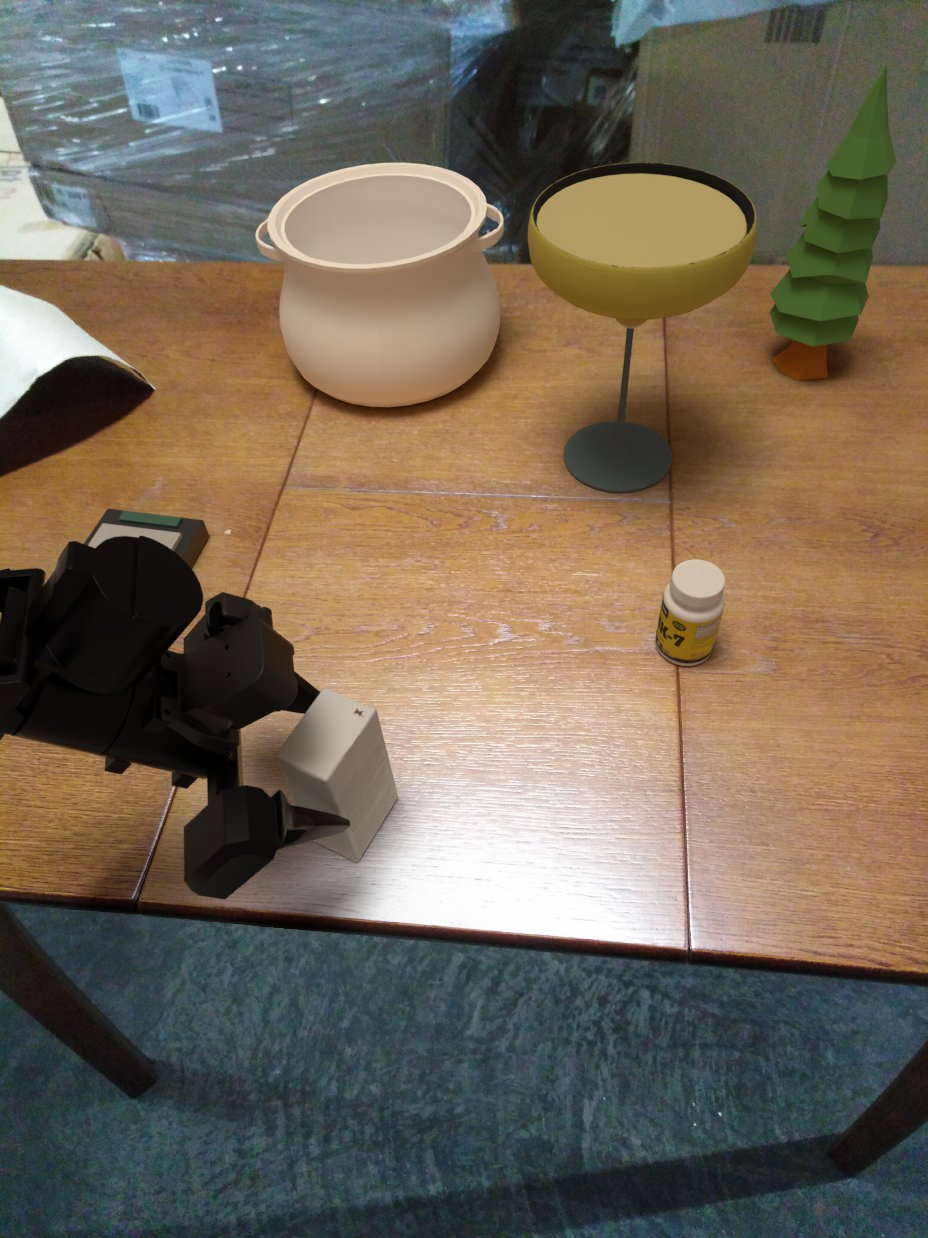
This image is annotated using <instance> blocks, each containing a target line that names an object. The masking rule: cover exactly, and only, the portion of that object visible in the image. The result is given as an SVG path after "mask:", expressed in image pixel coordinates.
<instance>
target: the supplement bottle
mask: <svg viewBox="0 0 928 1238" xmlns="http://www.w3.org/2000/svg"><path fill="white" fill-rule="evenodd" d="M725 585H726V577H725V575H724V572H723V571H722V570H721V568H719V566H717V565H716V564H715V563H712V562H711V561H707V560H703V559H699V558H698V559H696V558H694V559H688V560H684V561H682V562H680V563H679V564H677V565H676V566H675V567H674V569H673V571H672V573H671V577H670V579H669V582H668V583H667V585H666V586H665V588H664V590H663V594H662V599H661V605H660V610H659V615H658V621H657V626H656V631H655V640H654V641H655V642H654V643H655V647H656V649H657V651H658V653H659V654H660V655H661V656H662V657H663V658H664V659H665V660H666V661H668V662H670V663H671V664H674V665H677V666H681V667H693V666H697V665H700V664H702V663H704V662H705V661H706V660H707V659H709V657H710V656H711V654H712V653H713V650H714V647H715V643H716V639H717V636H718V632H719V629H720V624H721V621H722V617H723V614H724V610H725V605H726V604H725V603H726V597H725V593H724V591H725V590H724V589H725Z"/></svg>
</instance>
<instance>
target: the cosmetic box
mask: <svg viewBox="0 0 928 1238" xmlns="http://www.w3.org/2000/svg"><path fill="white" fill-rule="evenodd" d="M274 760H275V762H276V765H277V767H278V768H279V771H280V774H281V775H282V778H283V780H284V782H285V784H286V787H287V789H288V791H289V793H290V795H291V798H292V801H293V802H294V805H295V806H300V807H304V808H309V809H314V810H318V811H323V812H327V813H332V814H336V815H338V816H341V817H344V818H346V819H349V820H350V827H349V828H348V829H346V830H345V831H344V832H342V833H339V834H336V835H332V836H328V837H324V838H321V839H317V840H313V841H312V842H314V843H316V844H318V845H321V846H323V847H325V848H326V849H328V850H331V851H333V852H335V853H337V854H338V855H340V856H343V857H345V858H347V859H349V860H350V861H352V862H355V863H359V861H360V859H361V858H362V856H363V854H364V853H365V852H366V850H367V849H368V847H369V845H370V843H371V842H372V840H373V839H374V837H375V835H376V833H377V832H378V831H379V829H380V827H381V826H382V824H383V822H384V821H385V819H386V817H387V816H388V814H389V812H390V811H391V809H392V807H393V806H394V804H395V803H396V801H397V800H398V798H399V793H398V789H397V785H396V780H395V777H394V774H393V769H392V766H391V761H390V757H389V754H388V750H387V746H386V742H385V738H384V733H383V729H382V726H381V722H380V717H379V714H378V710H377V708H375V707H373V706H371V705H368V704H365V703H363V702H360V701H357V700H355V699H353V698H350V697H347V696H345V695H344V694H341V693H339V692H335V691H333V690H330V689H328V688H325V687H324V688H322V689H321V691H320V694H319V695H318V696H317V698H316V699H315V701H314V702H313V703H312V705H311V706H310V707H309V709H308V710H307V712H306V713H305V714H303V716H302V717H301V719H300V720H299V721H298V723H297V724H296V726H294V729H293V730H292V731H291V732H290V734H289V735H288V737H287V738H286V740H285V741H284V742H283V744H282V745H281V746H280V748H278V751H277V752H276V753H275V754H274Z"/></svg>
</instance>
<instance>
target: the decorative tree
mask: <svg viewBox="0 0 928 1238" xmlns="http://www.w3.org/2000/svg"><path fill="white" fill-rule="evenodd" d="M896 164H897V158H896V154H895V149H894V145H893V140H892V137H891V132H890V122H889V105H888V64H885V66H884V68H882V71H881V73H880V74H879V76H878V77H877V78H876V81H875V82H874V84H873V85H872V87H871V88H870V90H869V92H868V93H867V95H866V97H865V99H864V101H863V103H862V105H861V106H860V109H859V111H858V113H857V114H856V117H855V119H854V121H853V123H852V124H851V127H850V128H849V130H848V132H847V133H846V135H845V136H844V138H843V139H842V141H841V143H840V144H839V145H838V147H837V148H836V149H835V151H834V153H833V154H832V156H831V157H830V159H829V160H828V162H827V163H826V165H825V166H826V167H827V170H826V171H825V173H824V174H823V176H822V177H821V178H820V180H819V181H818V183H817V184H816V195H817V196H816V198H815V199H814V200H813V201H812V203H811V205H810V206H809V207H808V209H807V210H806V212H805V213H804V214H803V215H802V217H801V218H800V220H799V221H798V223H799V225H800V226H799V227H800V228H801V227H802V228H804V231H803V232H802V234H801V235H800V237H799V238H798V239H797V240H796V242H795V243H794V245H793V246H792V248H791V249H790V250H789V251H788V253H787V254H786V257H787V262H788V266H789V269H788V270H787V272H786V273H785V274H784V275H783V276H782V278H781V279H780V280H779V282H778V283H777V284H776V285H775V287H774V288H773V289H772V290H771V292H770V293H769V294H770V296H771V298H772V300H773V303H774V305H773V306H772V308H771V309H770V311H769V316H770V319H771V322H772V324H773V327H774V330H775V333H776V335H779V336H780V337H781V336H782V337H783V338H784V337H785V338H787V339H790V340H792V342H791V344H790V345H789V346H788V347H787V348H785V349H784V350H782V351H780V353H778V354H777V355H776V356H774V357H773V358H772V359H771V360H772V362H773V364H774V365H775V367H776V368H777V370H778V371H779V372H780V373H782V374H784V375H786V376H788V377H790V378H792V379H794V380H796V381H806V380H820V379H822V380H823V379H829V373H828V362H827V353H828V349H827V345H830V344H831V345H833V344H838V343H843V342H849V341H851V340H852V337H853V335H854V333H855V331H856V327H857V325H858V322H859V321H860V319H859V318H860V317H859V316H861V315H862V313H863V311H864V308H865V306H866V304H867V302H868V300H869V296H870V295H869V292H868V288H867V282H868V279H869V278H868V277H869V273H870V270H871V267H872V263H873V258H874V255H873V249H872V248H873V246H874V244H875V241H876V240H877V237H878V235H879V233H880V230H881V218H882V217H883V214H884V211H885V208H886V205H887V202H888V199H889V192H888V191H889V190H888V189H889V186H888V184H889V181H888V176H889V175H888V174H890V172H891V171H892V169H894V166H895V165H896Z"/></svg>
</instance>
